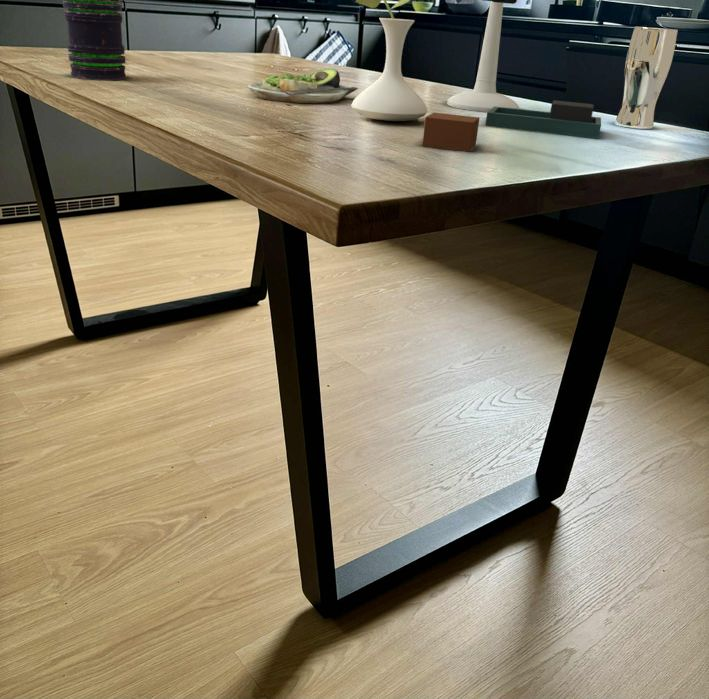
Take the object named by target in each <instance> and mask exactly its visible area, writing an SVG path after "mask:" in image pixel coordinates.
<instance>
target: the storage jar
mask: <svg viewBox="0 0 709 699" xmlns="http://www.w3.org/2000/svg"><path fill="white" fill-rule="evenodd" d="M121 2H122V1H121V0H62V6H63V8H65V9H64V10H63V11H64V12H63V13H64V14H63V15H64V19H65V21H66V26H67V36H68V43H67V52H69V53H68V54H67V55H68V56H67V57H68V61H69V62H72V63H69V67H70V77H72V78H76V79H81V80H82V79H83V80H93V81H95V80H96V81H97V80H98V81H117V80H118V81H119V80H125V79H126V78H127V74H126V66H125V65H124V64H126V56H125V52H126V50H125V46H124V44H123V34H122V33H123V32H122V23H123V13H121V12H123V6H122V4H120V3H121Z"/></svg>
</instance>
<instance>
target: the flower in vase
mask: <svg viewBox="0 0 709 699" xmlns="http://www.w3.org/2000/svg"><path fill="white" fill-rule="evenodd" d="M410 1H411V0H398V1H397V2H396V3H395V4H394V5H392V7H390V5H389V3H388V2H387V0H383V2H384V5H385V6H386V9H387V11H388V13H389V15H390V18H389V17H379V18H378V19H379V21H380V23H381V25H382V27H383V30H384V31H383V32H384V34H385V47H386V48H385V50H386V52H385V63H384V67H383V72H382V73H381V75H380V76H379V78H377V80H375V81H374V82H373V83H372V84H371V85H369V86H368V87H367V88H365V89H364V90H362V92H360V93H359V94H357V96H356V97H355V98H354V99H353V101H352V103H351V108H352V110H353V111H354V113H356V114H359V115H360V116H362V117H366V118H369V119H371V120H372V119H373V120H377V121H384V122H385V121H386V122H407V121H414V120H418V119H421V118H423V117H426V115H427V113H428V107H427V105H426V103H425V102H424V100H423V99H422V98H421V96H420V95H419V94H418V93H417V92H416V91H415V90H414V89H413V88H412V87H411V86H410V84H408V82H407V81H406V80H405V78H404V76H403V73H402V56H403V49H404V44H405V40H406V37H407V34H408V33H409V30H410V28H411V27H412V25H413V24H414V23H415V19H404V18H395V16H394V14H393V11H392V9H395V8H397V7H400V6H403V5H405V4H407V3H409V2H410ZM381 2H382V0H355V3H356V4H359V5H362V6H365V7H368V8H371V9H375V8H377V7H379V5H380V3H381Z"/></svg>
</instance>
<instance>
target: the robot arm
mask: <svg viewBox="0 0 709 699" xmlns="http://www.w3.org/2000/svg"><path fill="white" fill-rule="evenodd" d="M484 1H485V2H491V1H492V2H497V3H503V4H511V5H513V4H514V5H515V4H517V1H518V0H483V2H484Z"/></svg>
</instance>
